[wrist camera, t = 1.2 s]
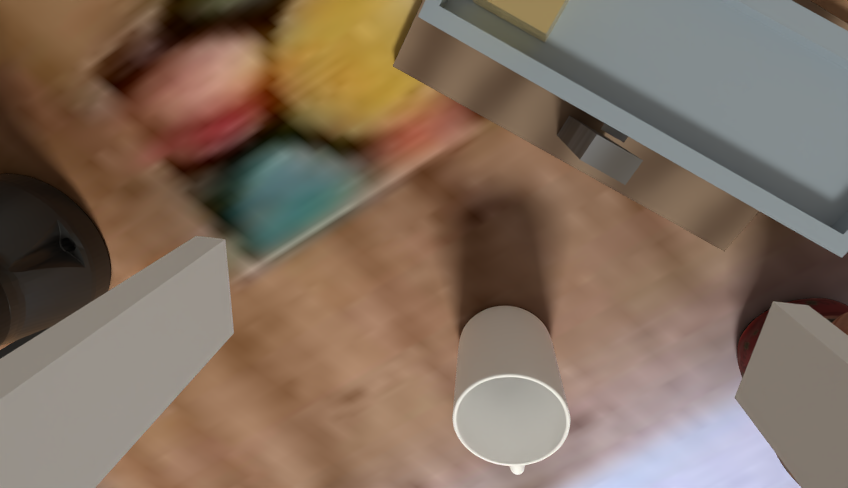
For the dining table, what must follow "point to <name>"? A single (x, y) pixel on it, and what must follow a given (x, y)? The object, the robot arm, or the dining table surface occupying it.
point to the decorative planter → (829, 309)
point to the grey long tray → (700, 91)
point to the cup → (509, 389)
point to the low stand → (575, 132)
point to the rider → (528, 14)
